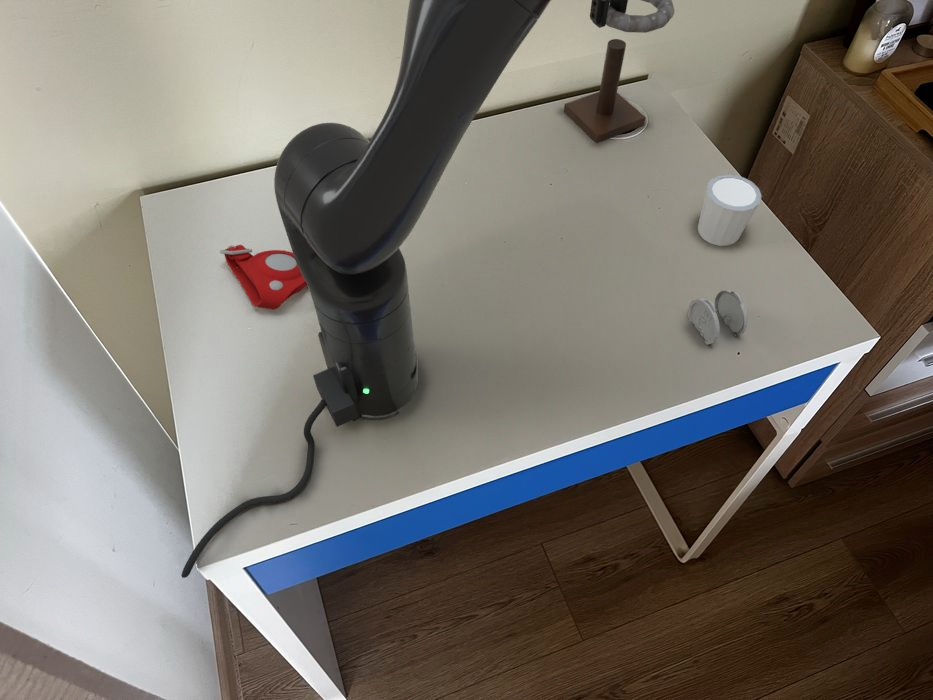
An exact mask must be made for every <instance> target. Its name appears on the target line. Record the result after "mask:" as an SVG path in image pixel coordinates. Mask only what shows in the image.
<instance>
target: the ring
mask: <svg viewBox="0 0 933 700" xmlns="http://www.w3.org/2000/svg"><path fill="white" fill-rule="evenodd" d="M641 1H642V2H646V3H649V4H651V5H652V6H653V7H654V8H656V9H657V10H656V11H655V12H653V13H649V14H646V15H641V14H640V15H639V14H638V15H637V14H628V13H626V12H625V13H622V12H619V11H616V10H615V9H614V8H612V7H611V6H610V1H609V7H608V13H607V19H606V25H605V26H607V27H609V28H611V29H614V30H619V31H621V32H624V33H636V34H637V33H638V34H639V33H640V34H642V33H645V34H646V33H650V32H653V31H656V30H660V29H663V28H664V27H666V25H667V24H668V23H669V21H671V19H672V18H673V17H674V15H675V7H674V2H673V0H641Z"/></svg>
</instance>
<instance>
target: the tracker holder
mask: <svg viewBox="0 0 933 700" xmlns="http://www.w3.org/2000/svg"><path fill="white" fill-rule="evenodd" d="M252 252H253V249H252V248H246V247H245V245H243V244H236V245H232V244H231V245H229V246H228V248H225V249H220V251H219V254H222V255H224V258H225V262H226V264H227V266H228V268H229V269H230V271H231V272H232V274H233V275H234V276H235V278H236V279H237V280H238V282H239V284H240V285H241V287H242V289H243V290H244V292H245V294H246V295H247V297H248V299H249V301H250V302H251V304H252V306H254V307H256V308H260V309H266V310H272V311H273V310H274V311H275V310H277V309H278V308H280V307H281V306H282V305H283V304H284V302H286V301H288V300H289V299H290V298H291V297H292V296H294V295H295V294H298V293H300V292H301V291H302V290H304V289H305V288H306V287H308V285H307V283H306V281H305V280H304V278H303V276H302V274H301V272H300V270H299V267H298V265H297V263H296V260H295V258H294V255H293V251H287V250H282V249H271V250H264V251H260V252H258V253H256V254H254V255H253V254H252Z"/></svg>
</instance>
